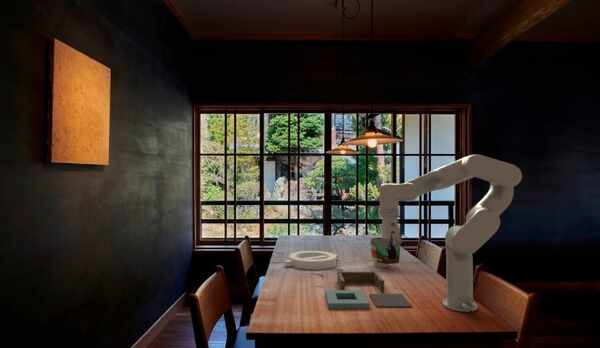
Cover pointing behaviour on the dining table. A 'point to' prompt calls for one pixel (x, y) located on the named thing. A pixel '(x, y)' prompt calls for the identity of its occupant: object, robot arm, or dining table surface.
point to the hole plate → (346, 299)
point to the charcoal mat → (390, 300)
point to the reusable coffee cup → (373, 251)
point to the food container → (386, 250)
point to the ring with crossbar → (312, 260)
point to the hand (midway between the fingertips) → (390, 256)
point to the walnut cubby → (360, 279)
